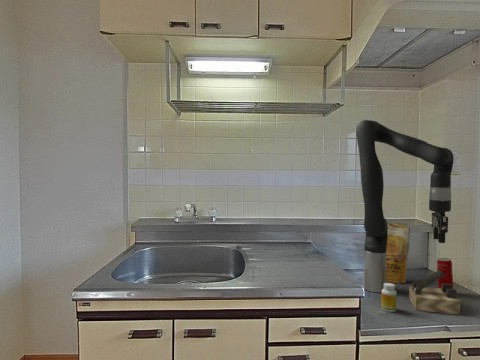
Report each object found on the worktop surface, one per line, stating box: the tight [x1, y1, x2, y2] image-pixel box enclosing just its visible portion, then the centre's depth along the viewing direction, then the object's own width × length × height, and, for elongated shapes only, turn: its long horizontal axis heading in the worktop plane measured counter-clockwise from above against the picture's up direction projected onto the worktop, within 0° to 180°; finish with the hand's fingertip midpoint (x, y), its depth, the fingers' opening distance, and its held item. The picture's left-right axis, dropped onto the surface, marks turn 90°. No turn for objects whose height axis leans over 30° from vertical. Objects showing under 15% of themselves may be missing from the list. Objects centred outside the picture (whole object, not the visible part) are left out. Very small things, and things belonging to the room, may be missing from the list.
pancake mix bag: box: [386, 221, 411, 285], centre depth 175 cm, size 7×19×28 cm, turn 67°
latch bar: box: [413, 270, 444, 290], centre depth 144 cm, size 13×4×1 cm
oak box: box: [408, 282, 461, 315], centre depth 144 cm, size 15×14×8 cm
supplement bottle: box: [380, 282, 398, 313], centre depth 140 cm, size 5×5×10 cm
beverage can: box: [436, 257, 454, 289], centre depth 158 cm, size 6×6×15 cm
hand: (439, 240), depth 143 cm, fingers open, 7 cm apart
